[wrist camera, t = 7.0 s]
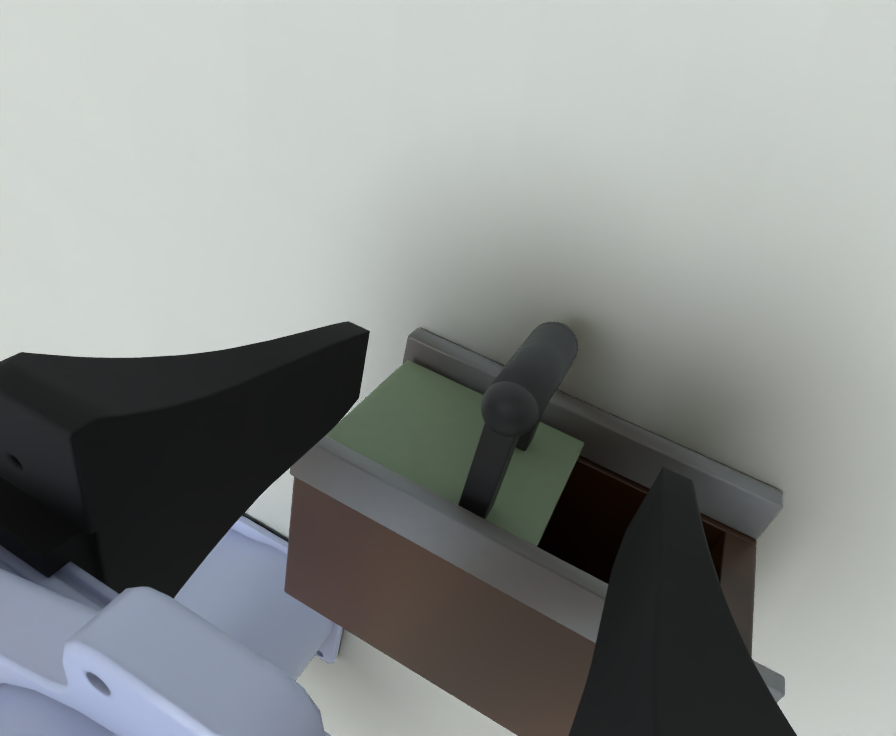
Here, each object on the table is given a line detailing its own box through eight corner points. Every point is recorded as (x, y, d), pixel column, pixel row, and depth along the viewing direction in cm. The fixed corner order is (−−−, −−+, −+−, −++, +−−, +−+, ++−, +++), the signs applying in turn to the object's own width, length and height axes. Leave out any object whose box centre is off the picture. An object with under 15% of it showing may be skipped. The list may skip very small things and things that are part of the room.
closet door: (404, 372, 22) (311, 459, 17) (430, 247, 19) (327, 315, 15) (579, 454, 20) (524, 574, 16) (636, 332, 17) (588, 437, 13)
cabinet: (386, 472, 26) (278, 596, 21) (418, 326, 22) (292, 432, 16) (678, 626, 23) (646, 824, 17) (784, 491, 19) (786, 696, 13)
